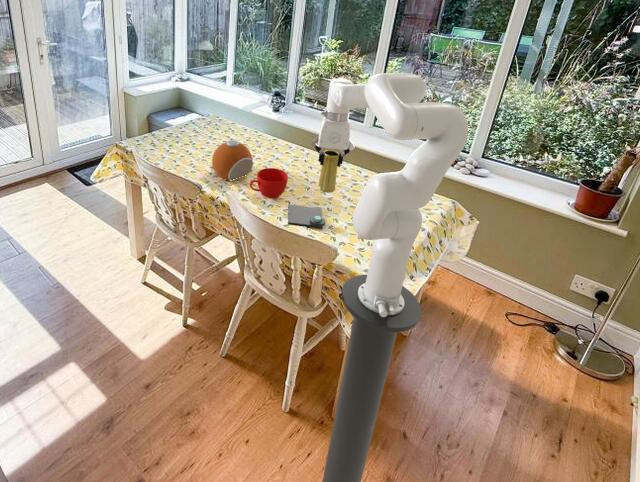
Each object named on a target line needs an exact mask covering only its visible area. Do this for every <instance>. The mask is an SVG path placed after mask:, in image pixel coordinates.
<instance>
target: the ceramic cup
mask: <svg viewBox="0 0 640 482" xmlns="http://www.w3.org/2000/svg"><path fill="white" fill-rule="evenodd" d="M288 179H289V176H288V173H287V172H286V171H284V170H282V169H280V168H274V167H267V168H266V167H265V168H262V169H259V171H257V173H256V179H253V180H251V181H250V182H249V188H250V189H251V190H252V191H255V192H260V193H261V195H262V196H264V198H266V199H278V198H279V197H281V196H282V195H283V194H284V192H285V190H286V188H287V185H288ZM254 183H257V187H258V188H254V187H253V184H254Z"/></svg>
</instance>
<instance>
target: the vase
mask: <svg viewBox="0 0 640 482" xmlns="http://www.w3.org/2000/svg"><path fill="white" fill-rule="evenodd" d="M323 153H324V158H323V165H321V169H320V174H319V179H318V185H317V189H318V190H319V191H320V192H322V193H328V194H332V193H334V192H335V191H336V183H337V175H338V168H339V167H338V160H339V153H340V152H338V151H337V150H334V149H328V150H327V149H325V150H324V152H323Z"/></svg>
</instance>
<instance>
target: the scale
mask: <svg viewBox="0 0 640 482" xmlns="http://www.w3.org/2000/svg"><path fill="white" fill-rule="evenodd" d="M315 216H320V217H321V218H322V219H321V222H315V221H314V218H315ZM287 217H288V218H287V225H288V226H294V227H295V226H296V227H303V228H311V229H319V230H324V226H326V219H325V218H323V212H322V208H321V207H313V206H305V205H297V204H288V216H287Z"/></svg>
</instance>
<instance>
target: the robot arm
mask: <svg viewBox="0 0 640 482" xmlns="http://www.w3.org/2000/svg"><path fill="white" fill-rule="evenodd" d="M328 86H329V87H328V93H327V102H326V108H325V110H321V114H320V116H323V117H322V121H321V124H320V128H319V132H318V135H317V136H316V137H315V138H313V139H312V140H311V141H310V145H311V146H312V147H313V148H314V149H315V150H316V152H317V153H318V162H319V164H320V166H322V165H323V158H324V152H325V151H326V150H327V149H328V150H336V151H337V150H338V151H339V152H338V153H339V160H338V167H337V168H341V165H342V164H343V161H344V157H345V156H346V155H348V154H349V153H350V152H352V151H354V150H355V149H356V146H355V145H354V143H353V142H352V140H351V138H350V137H351V121H350V119H349V117H350V110H351V109H370V110H371V111H372V113H373V115H374V117H376V119H377V121H378V122H379V124H380V125H381V127H382V128H383V130H384V131H385V133H386V134H387V135H388V136H389V137H391V138H393V139H394V140H398V141H409V140H410V141H412V140H414V141H415V140H426V141H424V142H423V143H422V144H421V145H419V146H418V147H417V148H416V149H414V151H413V152H412V153H411V154H410V156H409V157H408V159H407V161H406V164H405V165H404V167H403V168H402V169H401V170H399V171H393V172H392V171H391V172H382V173H377V174H374V175H373V176H371V177H370V178H369V179H368V180H367V182H366V183H365V185H364V188H363V190H362V193H361V194H360V197H359V199H358V201H357V204H356V206H355V209H354V210H353V215H352V227H353V230H354V232H355V233H356V235H357V236H358V237H359V238H361V239H363V240H367V241H373V243H372V247H371V248H372V249H371V253H370V258H369V263H368V268H367V273H366V275H367V278H366V283H364V284H362V285H361V286H360V287H359V289H358V297H359V299H360V301H361V302H362V303H363V305H365V306H366V307H367V308H369V309H370V310H372V311H374V312H376V313H379V314H380V316H381V317H386V316H387V315H395V314H398V313H400V312H401V311H402V310H403V308H404V304H405V302H404V299H403V297H402V295H401V290H402V286H403V287H404V281H405V277H406V274H407V273H406V272H407V270H408V269H407V267H408V264H409V260H410V256H411V252H412V248H413V245H414V243H415V242H416V239H417V237H418V236H419V233H420V232H421V228H422V224H423V214H422V212H421V210H420V209H421V208H424V207H425V206H427V205H428V204H429V202H430V201H431V199H432V198H433V196H434V195H435V193H436V191H437V189H438V187H439V186H440V184H441V183H442V181H443V180H444V177H445V175H446V174H447V172H448V170H449V169H450V168H451V166H452V165H453V164H454V162H455V161H456V160H457V158H458V157H459V156H460V154H461V153H462V151H463V149H464V147H465V145H466V142H467V139H468V131H469V129H468V128H469V127H468V126H469V125H468V119H467V117H466V115H465V113H464V111H463V110H462V109H461V108H460V107H458V106H456V105H455V104H452V103H448V102H437V101H431V102H430V101H429V102H428V101H427V102H426V101H425V102H421V101H422V100H423V99H424V98H425V96H426V94H427V92H428V91H427V84H426V82H425V80H424V78H423V77H421V76H419V75H418V74H415V73H410V72H387V73H386V72H381V73H377V74H374V75H372V76H371V77H370V78H369V79H368V80H367V82H366V83H357V84H356V83H355V84H354V82H353V81H351V79H347V78H333V79H331V81H330V82H329V85H328Z"/></svg>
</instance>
